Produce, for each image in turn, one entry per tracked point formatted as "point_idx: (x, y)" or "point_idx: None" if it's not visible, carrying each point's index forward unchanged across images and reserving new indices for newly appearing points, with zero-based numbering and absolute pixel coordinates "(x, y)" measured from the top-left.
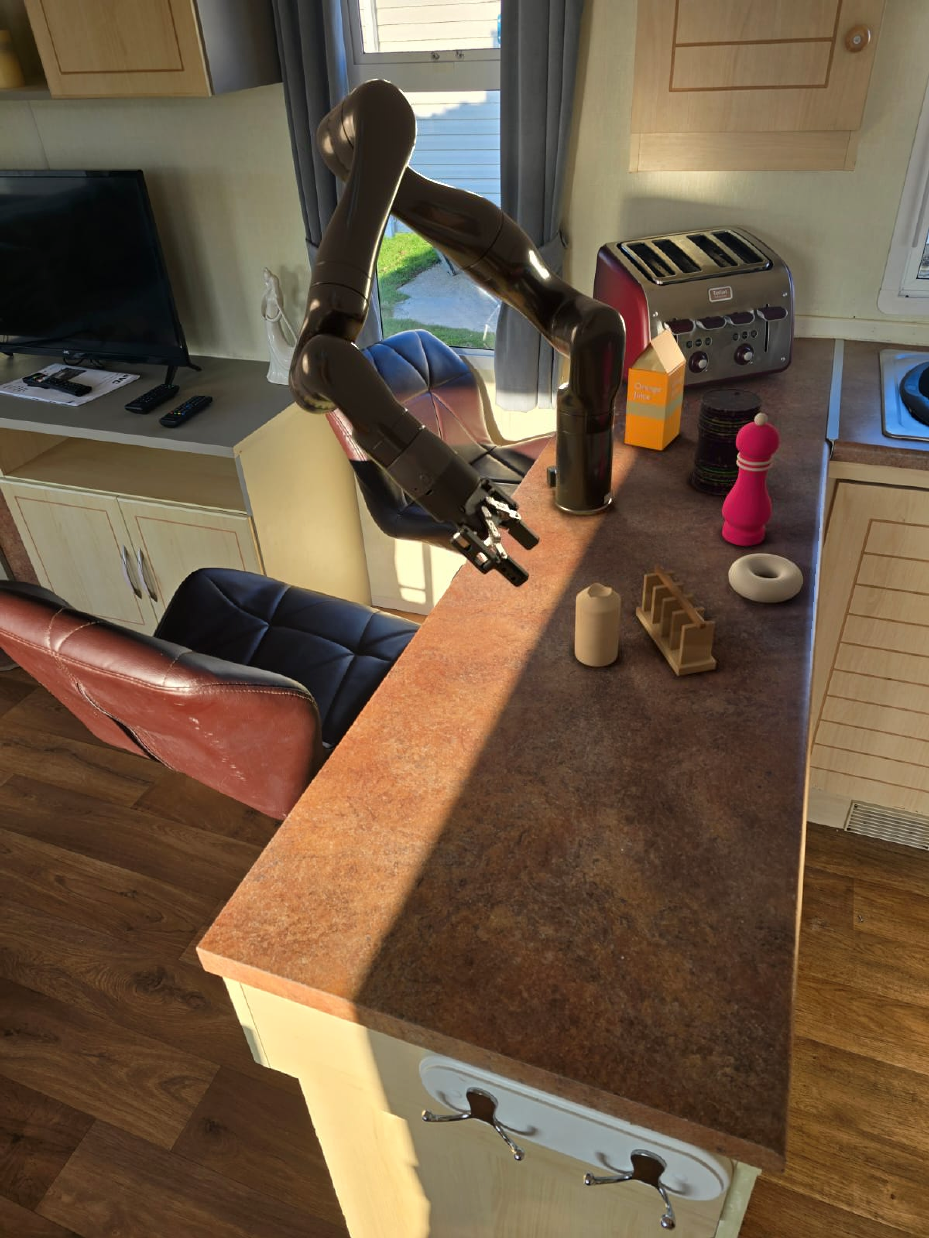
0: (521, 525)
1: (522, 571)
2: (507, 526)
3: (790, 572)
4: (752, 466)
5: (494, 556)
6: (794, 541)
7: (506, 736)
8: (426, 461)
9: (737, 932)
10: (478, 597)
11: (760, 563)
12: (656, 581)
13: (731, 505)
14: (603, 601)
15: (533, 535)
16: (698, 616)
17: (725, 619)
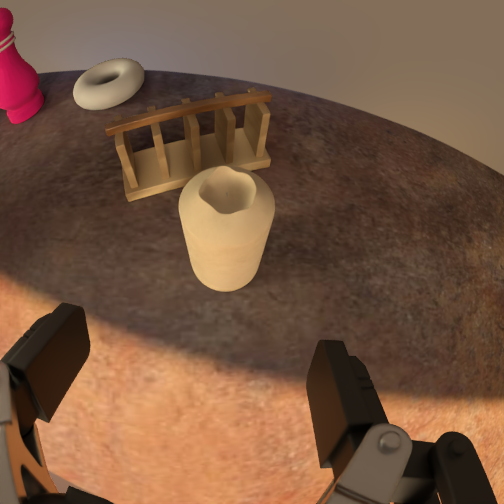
0: (33, 363)
1: (347, 359)
2: (30, 423)
3: (120, 60)
4: (7, 41)
5: (460, 459)
6: (53, 79)
7: (412, 374)
8: None
9: (500, 190)
10: (70, 445)
11: (92, 80)
12: (125, 140)
13: (12, 88)
14: (260, 186)
15: (64, 320)
16: (252, 93)
17: None
